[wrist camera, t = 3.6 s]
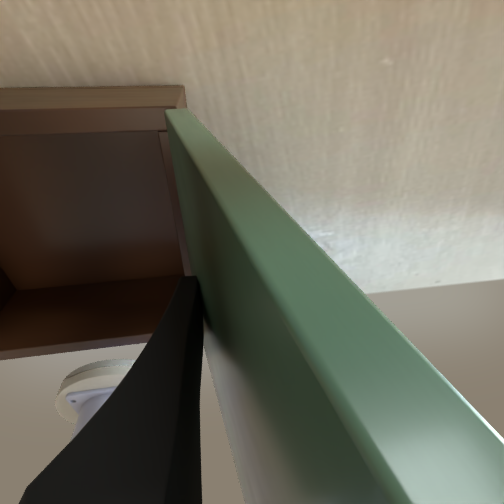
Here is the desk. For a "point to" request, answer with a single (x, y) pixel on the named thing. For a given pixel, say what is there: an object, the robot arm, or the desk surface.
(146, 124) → the sweet box
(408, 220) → the desk surface
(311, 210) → the desk surface
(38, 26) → the desk surface
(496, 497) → the lid
